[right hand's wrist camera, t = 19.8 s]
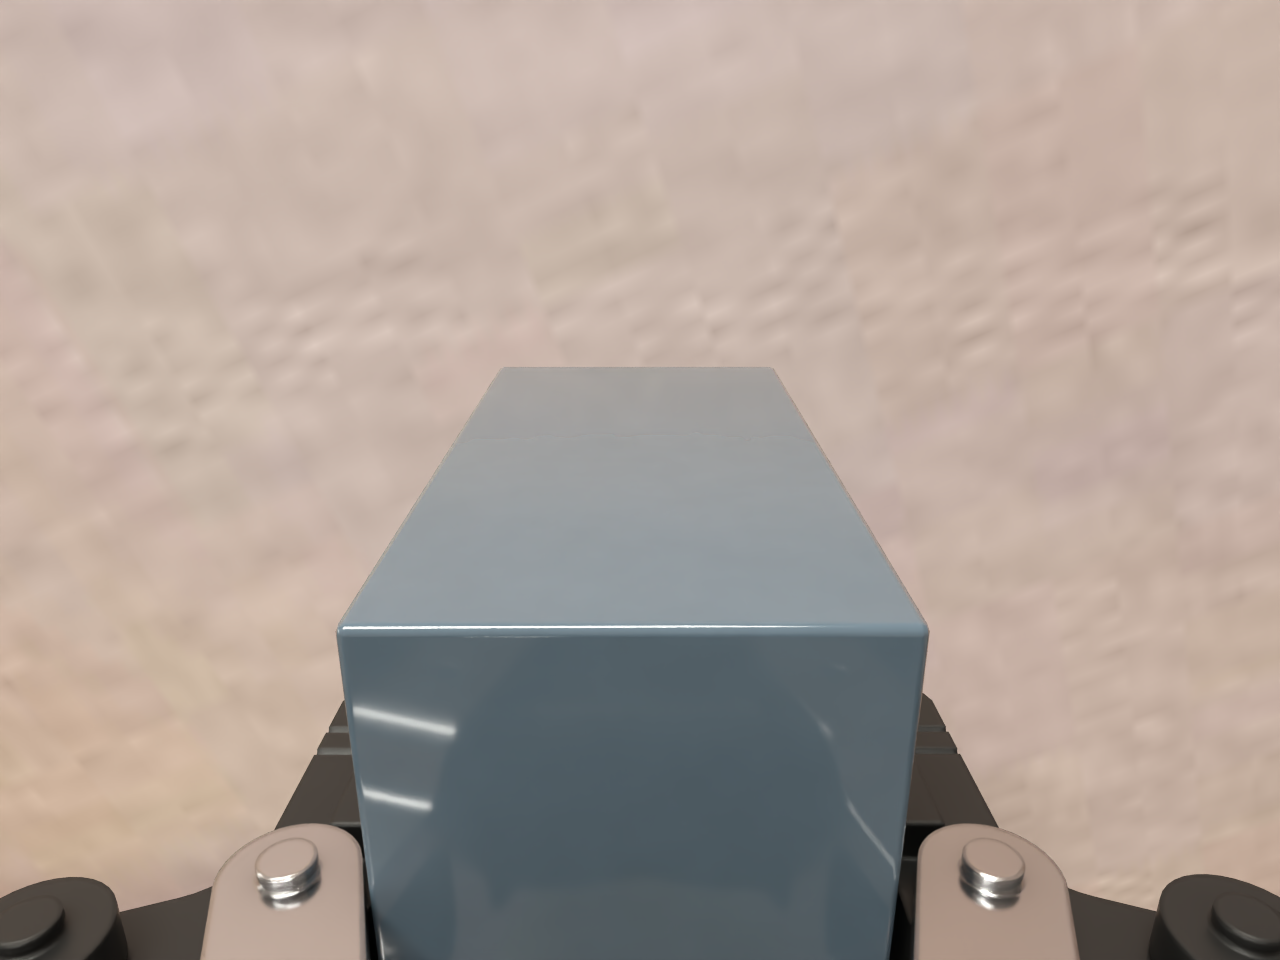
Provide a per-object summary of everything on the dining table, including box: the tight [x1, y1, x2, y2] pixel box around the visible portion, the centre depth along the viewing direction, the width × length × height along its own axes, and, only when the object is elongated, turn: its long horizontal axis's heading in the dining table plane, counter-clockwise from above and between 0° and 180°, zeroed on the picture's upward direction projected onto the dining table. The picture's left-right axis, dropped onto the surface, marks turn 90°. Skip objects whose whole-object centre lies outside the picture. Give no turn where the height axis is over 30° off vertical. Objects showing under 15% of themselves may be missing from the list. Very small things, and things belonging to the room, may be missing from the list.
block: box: [336, 367, 930, 960], centre depth 12 cm, size 4×8×8 cm, turn 0°
